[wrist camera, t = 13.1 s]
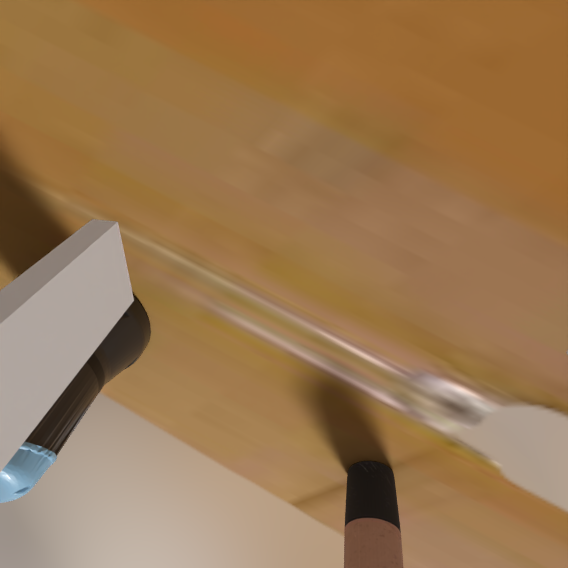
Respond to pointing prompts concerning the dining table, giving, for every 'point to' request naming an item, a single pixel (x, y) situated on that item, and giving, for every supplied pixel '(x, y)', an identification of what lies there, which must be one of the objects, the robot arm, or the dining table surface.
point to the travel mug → (372, 518)
